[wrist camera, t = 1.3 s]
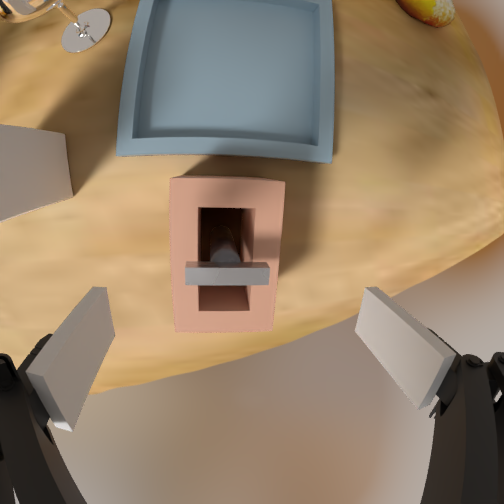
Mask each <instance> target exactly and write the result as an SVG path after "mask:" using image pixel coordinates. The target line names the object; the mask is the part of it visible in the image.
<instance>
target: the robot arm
mask: <svg viewBox="0 0 504 504" xmlns="http://www.w3.org/2000/svg"><path fill="white" fill-rule="evenodd" d="M355 332H356V333H357V334H358V336H359V337H360V338H361V339H362V341H363V342H364V343H365V344H366V345H367V347H368V348H369V349H370V350H371V352H372V353H373V354H374V355H375V357H376V358H377V359H378V360H379V362H380V363H381V364H382V365H383V367H384V368H385V369H386V370H387V371H388V373H389V374H390V375H391V377H392V378H393V379H394V381H395V382H396V383H397V384H398V386H399V387H400V388H401V389H402V391H403V392H404V393H405V395H406V396H407V397H408V398H409V400H410V401H411V402H412V404H413V405H414V406H415V407H416V409H417V410H418V409H421V408H423V407H426V406H428V405H430V403H431V402H432V400H433V398H434V397H435V395H437V396H438V397H439V398H440V399H439V400H438V402H437V404H436V405H435V407H434V409H433V410H432V412H431V413H430V415H429V417H430V418H431V417H432V415H433V414H434V413H435V412H436V415H435V417H434V418H435V428H434V436H433V444H432V451H431V457H430V463H429V469H428V474H427V479H426V483H425V488H424V492H423V496H422V500H421V503H420V504H504V352H496V353H495V354H494V355H493V357H492V359H491V361H490V362H485V363H484V362H483V361H482V360H481V359H480V358H478V357H477V356H474V355H470V354H466V355H463V356H461V355H460V354H459V353H458V352H456V351H455V350H454V349H453V348H452V347H451V346H450V345H448V344H447V343H446V342H444V340H443V339H442V338H440V337H438V335H437V334H436V333H435V332H433V331H432V330H430V329H428V328H426V327H425V326H424V325H423V324H422V323H420V322H419V321H418V320H417V319H416V318H414V317H413V316H412V315H411V314H409V313H408V312H407V311H406V310H405V309H404V308H402V307H401V306H400V305H398V304H397V303H396V302H395V301H394V300H393V299H391V298H390V297H389V296H388V295H386V294H385V293H384V292H383V291H381V290H380V289H379V288H378V287H365V290H364V295H363V299H362V304H361V308H360V312H359V316H358V320H357V325H356V329H355ZM114 337H115V332H114V327H113V322H112V317H111V311H110V306H109V300H108V294H107V287H92V288H91V290H90V291H89V292H88V293H87V294H86V295H85V296H84V298H83V299H82V300H81V301H80V302H79V303H78V305H77V306H76V307H75V308H74V309H73V310H72V312H71V313H70V314H69V315H68V316H67V318H66V319H65V320H64V321H63V323H62V324H61V325H60V326H59V328H58V329H57V330H56V331H55V333H54V334H48V335H46V336H45V337H43V338H42V339H40V341H39V342H38V343H37V344H36V346H35V348H33V349H32V351H31V352H30V354H29V355H28V356H27V357H26V359H25V360H24V361H23V363H22V364H21V365H20V367H19V368H18V369H17V370H16V368H15V366H14V364H13V361H12V359H11V357H10V356H9V355H7V354H3V353H0V504H15V498H14V491H13V488H14V490H15V493H16V496H17V498H18V501H19V503H20V504H87V503H86V501H85V499H84V498H83V496H82V495H81V493H80V491H79V489H78V488H77V486H76V484H75V482H74V480H73V479H72V477H71V475H70V473H69V471H68V469H67V467H66V465H65V463H64V461H63V459H62V456H61V455H60V452H59V450H58V448H57V445H56V443H55V441H54V438H53V436H52V433H51V431H50V429H49V427H48V426H47V422H48V420H49V418H51V420H52V421H53V423H54V425H55V426H56V427H57V428H61V429H64V430H68V431H72V432H73V430H74V427H75V425H76V422H77V420H78V417H79V415H80V412H81V410H82V407H83V405H84V402H85V400H86V398H87V395H88V393H89V390H90V388H91V386H92V384H93V381H94V379H95V377H96V375H97V372H98V370H99V368H100V366H101V364H102V362H103V359H104V357H105V355H106V353H107V351H108V349H109V347H110V345H111V343H112V341H113V339H114ZM499 390H501V392H502V395H501V397H500V398H499V400H498V401H497V402H495V400H494V398H495V397H496V395H497V394H498V392H499Z"/></svg>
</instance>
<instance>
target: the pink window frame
mask: <svg viewBox="0 0 504 504" xmlns="http://www.w3.org/2000/svg"><path fill="white" fill-rule="evenodd" d="M284 195H285V182H284V181H279V180H273V179H268V178H258V177H237V176H199V175H181V176H177V177H172V178H170V197H169V226H170V264H171V284H172V300H173V313H174V325H175V332H258V331H272V329H273V320H274V310H275V300H276V290H277V280H278V269H279V258H280V246H281V234H282V222H283V209H284ZM201 207H219V208H242V222H241V243H240V261H241V262H267V264H268V265H269V267H270V276H269V285H185V265H186V261H201Z"/></svg>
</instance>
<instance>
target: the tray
mask: <svg viewBox="0 0 504 504" xmlns="http://www.w3.org/2000/svg"><path fill="white" fill-rule="evenodd" d="M334 94H335V63H334V29H333V12H332V0H140V3H139V6H138V10H137V13H136V17H135V21H134V25H133V29H132V34H131V38H130V43H129V48H128V53H127V58H126V64H125V70H124V76H123V83H122V90H121V98H120V107H119V117H118V129H117V145H116V156H121V157H129V156H152V155H220V156H244V157H260V158H274V159H285V160H296V161H305V162H314V163H332V150H333V130H334Z"/></svg>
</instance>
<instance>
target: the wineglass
mask: <svg viewBox="0 0 504 504" xmlns="http://www.w3.org/2000/svg"><path fill="white" fill-rule="evenodd" d="M54 8H58V9H59V10H60V11H61V12H62V13H63V14H64V15H65V16H66V17H67V18H68V19H69V20H70V21H71V22H70V23H69V25H68V26H67V27H66V29H65V31H64V33H63V36H62V47H63V48H64V50H66V51H67V52H69V53H79V52H83V51H85V50H87V49H89V48H91V47H93V46H94V45H95V44H97V43H98V42H99V41H100V40H101V39H102V38H103V37H104V35H105V34H106V32H107V31H108V29H109V26H110V23H111V18H110V15H109V13H108V12H107V11H106V10H103V9H91V10H88V11H85V12H83V13H82V14H80V15H78V16H76V15H75V14H74V13H73V12H72V11H71V10H70V9H69V7H68V6H67V5H66V4H65V3H64V0H0V19H1V20H2V21H4V22H8V23H20V22H25V21H29V20H32V19H34V18H37V17H39V16H41V15H43V14H45V13H47V12H48V11H50V10H51V9H54Z"/></svg>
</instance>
